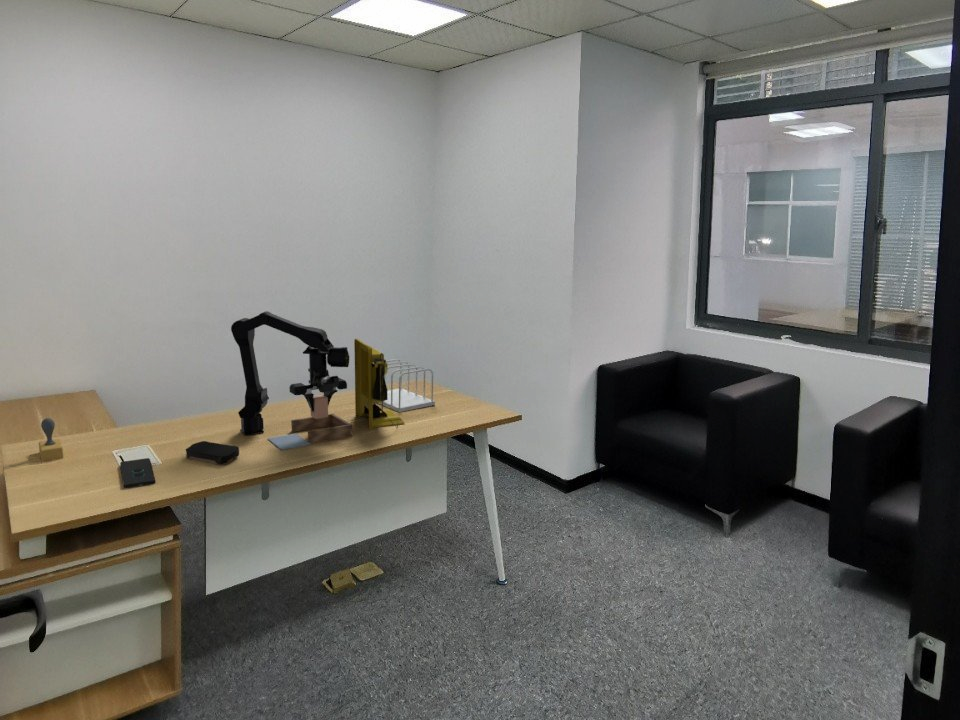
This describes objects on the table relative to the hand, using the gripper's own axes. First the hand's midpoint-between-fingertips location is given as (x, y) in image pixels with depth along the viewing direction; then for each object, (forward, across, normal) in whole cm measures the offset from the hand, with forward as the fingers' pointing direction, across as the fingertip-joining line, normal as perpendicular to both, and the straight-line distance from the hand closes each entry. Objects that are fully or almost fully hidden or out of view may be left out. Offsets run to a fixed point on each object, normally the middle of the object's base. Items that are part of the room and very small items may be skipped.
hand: (319, 410), depth 239 cm
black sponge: (+9, -37, -5) cm, 39 cm away
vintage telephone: (+9, +25, +2) cm, 26 cm away
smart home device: (+9, -59, -8) cm, 60 cm away
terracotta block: (+2, 0, 0) cm, 2 cm away
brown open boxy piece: (+8, 0, 0) cm, 8 cm away
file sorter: (+9, +44, +22) cm, 50 cm away
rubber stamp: (+9, -78, +23) cm, 82 cm away
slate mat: (+8, -12, -3) cm, 15 cm away
